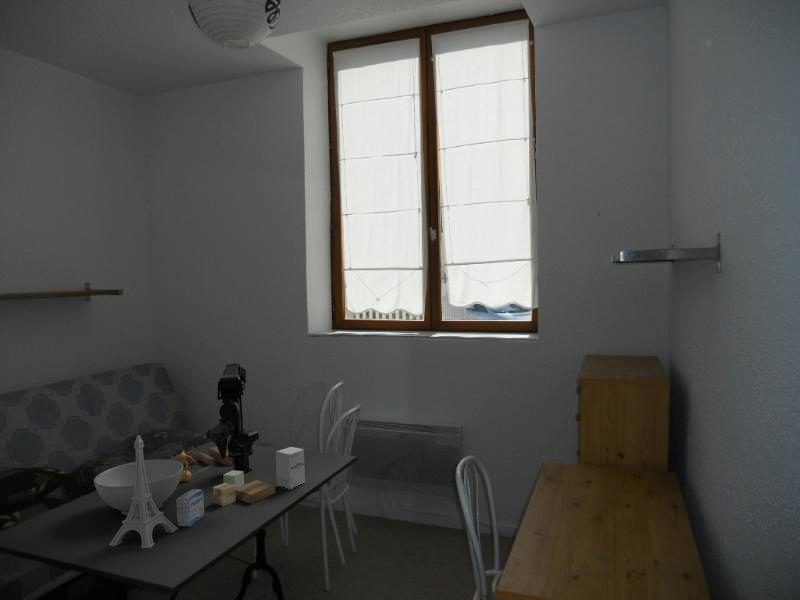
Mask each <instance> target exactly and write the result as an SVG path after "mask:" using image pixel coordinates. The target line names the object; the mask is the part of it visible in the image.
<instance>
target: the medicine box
mask: <svg viewBox="0 0 800 600" xmlns="http://www.w3.org/2000/svg"><path fill="white" fill-rule="evenodd" d="M175 499H176V500H175V501H176V516H177V518H176V519H177V526H179V527H192V526H194V525H195V524H196V523H197V522H198V521H200V520H201V519H203V518H204V517H205V505H204V504H205V503H204V502H205V501H204V490H203V489H199V488H195V489H193V488H192V489H190V490H188V491H186V492H185V493H183V494H182V495H180V496H179V497H177V498H175Z"/></svg>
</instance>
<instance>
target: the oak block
mask: <svg viewBox="0 0 800 600" xmlns="http://www.w3.org/2000/svg"><path fill="white" fill-rule="evenodd" d="M212 491H213V504H214V503H215V504H214V505H217V504H218V506H220V505H221V506H220V507H226V506H228V505H231V504H233V503H235V502H236V501H237V499H236V496H235V485H232V484H229V483H224V482H223V483H221V484H219V485H215V486H213V487H212ZM225 505H226V506H225Z"/></svg>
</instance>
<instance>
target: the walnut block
mask: <svg viewBox="0 0 800 600" xmlns="http://www.w3.org/2000/svg"><path fill="white" fill-rule="evenodd" d="M273 494H275V495H276V485H275V484H271V483H268V482H265V481H261V480H258V479H255V480H253V481H250V482H247V483H244V485H242V486H239V487H236V488H235V496H236V500H238V501H241V502H245V503H248V504H250V503H251V505H252V504H255V503H257V502H258V503H259V502H260V501H263V500H264V498H265V499H267V498H269V497H268V496H270V497H272V496H274V495H273ZM271 495H272V496H271ZM266 497H267V498H266ZM259 500H260V501H259Z"/></svg>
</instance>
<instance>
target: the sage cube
mask: <svg viewBox="0 0 800 600" xmlns="http://www.w3.org/2000/svg"><path fill="white" fill-rule="evenodd" d="M231 470H232V469H231ZM222 476H223V484H224V483H229V484H232V485H235V488H236V487H239V486H242V485H244V484H245V477H244V476H245V473H244V471H235V470H232V471H230V472H229V471H228V472H226V473H224V474H223V475H222Z"/></svg>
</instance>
